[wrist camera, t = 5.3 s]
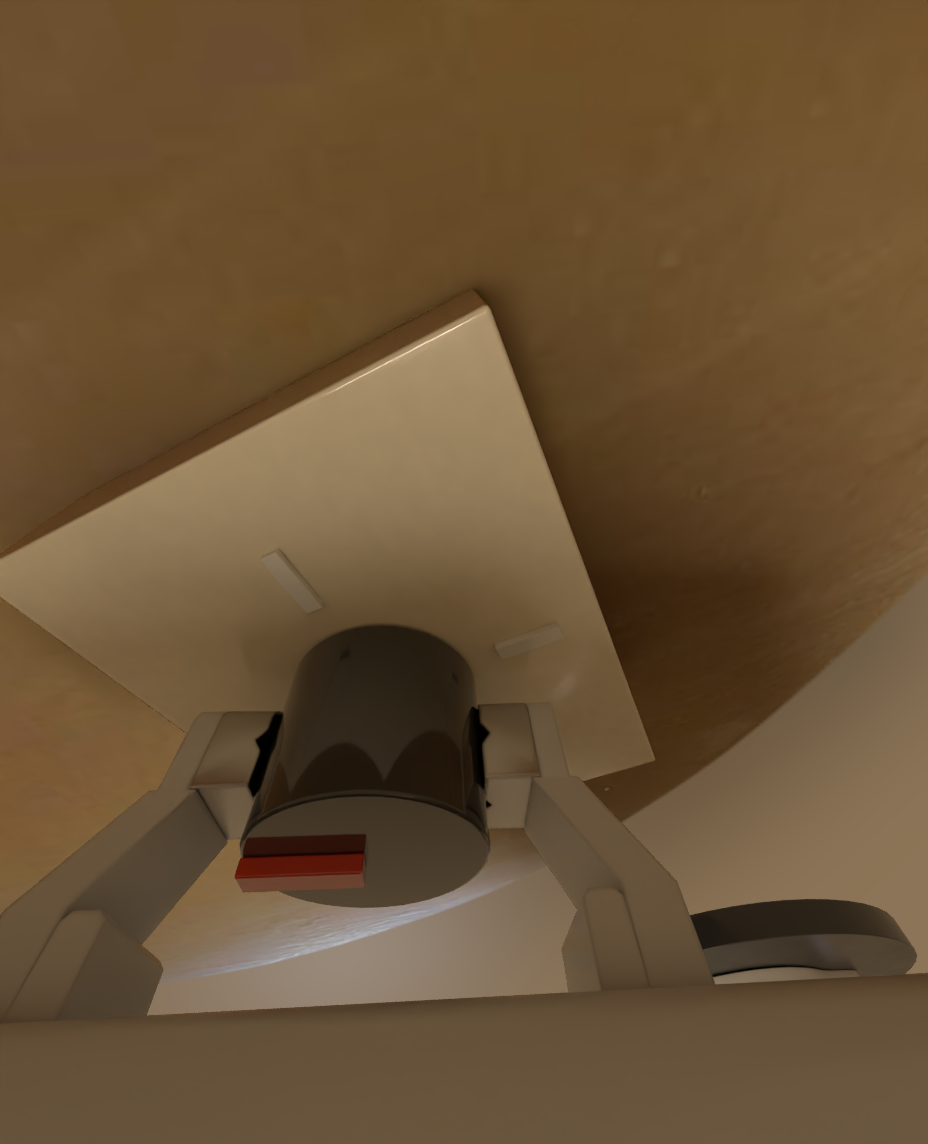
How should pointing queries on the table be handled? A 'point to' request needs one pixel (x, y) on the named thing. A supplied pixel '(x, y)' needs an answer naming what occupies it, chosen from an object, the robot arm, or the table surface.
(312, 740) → the hob knob
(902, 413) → the table surface
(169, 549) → the hob panel
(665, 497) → the table surface
